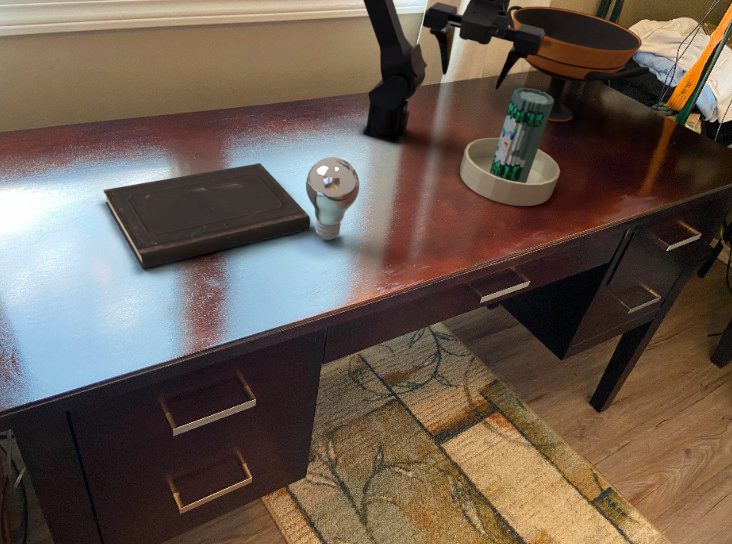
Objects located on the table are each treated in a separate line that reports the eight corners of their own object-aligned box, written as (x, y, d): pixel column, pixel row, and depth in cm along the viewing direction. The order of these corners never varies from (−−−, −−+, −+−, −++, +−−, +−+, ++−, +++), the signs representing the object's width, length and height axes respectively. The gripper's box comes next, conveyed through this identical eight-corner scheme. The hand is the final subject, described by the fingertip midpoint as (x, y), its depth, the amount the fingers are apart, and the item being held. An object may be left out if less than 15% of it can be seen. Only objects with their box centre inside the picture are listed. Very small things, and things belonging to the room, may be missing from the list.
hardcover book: (105, 204, 83) (103, 189, 82) (260, 176, 94) (260, 162, 93) (143, 271, 74) (141, 256, 72) (309, 231, 85) (311, 217, 84)
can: (481, 175, 104) (506, 89, 94) (508, 170, 107) (535, 86, 97) (504, 193, 100) (532, 105, 91) (531, 187, 103) (561, 102, 93)
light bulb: (332, 260, 81) (342, 180, 73) (291, 239, 83) (296, 159, 75) (361, 237, 86) (373, 161, 78) (320, 218, 88) (328, 142, 80)
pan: (450, 187, 100) (455, 166, 98) (470, 149, 112) (476, 129, 109) (545, 216, 97) (554, 194, 95) (556, 174, 109) (564, 154, 107)
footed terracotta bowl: (452, 83, 137) (471, -1, 125) (533, 75, 149) (558, -3, 137) (566, 158, 115) (602, 64, 104) (650, 141, 127) (691, 56, 116)
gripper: (422, -26, 88) (403, 81, 98) (549, 5, 84) (515, 113, 94) (443, -38, 96) (423, 61, 106) (559, -10, 93) (527, 90, 103)
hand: (470, 81), depth 102 cm, fingers open, 9 cm apart
